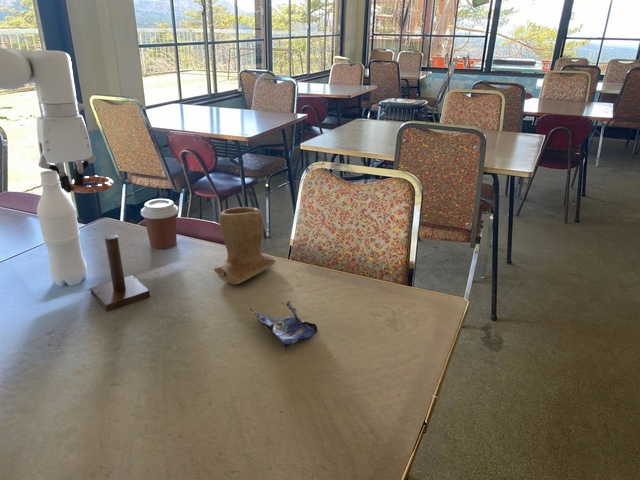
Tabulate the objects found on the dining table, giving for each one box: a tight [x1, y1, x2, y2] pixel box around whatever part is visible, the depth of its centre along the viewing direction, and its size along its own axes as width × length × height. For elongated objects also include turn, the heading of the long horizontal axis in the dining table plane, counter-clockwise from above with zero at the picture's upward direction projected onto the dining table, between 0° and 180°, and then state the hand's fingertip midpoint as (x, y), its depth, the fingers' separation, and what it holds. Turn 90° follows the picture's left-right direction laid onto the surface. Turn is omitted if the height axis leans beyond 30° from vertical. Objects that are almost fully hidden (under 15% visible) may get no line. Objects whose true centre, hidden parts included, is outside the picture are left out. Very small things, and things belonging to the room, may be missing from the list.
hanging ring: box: [69, 175, 115, 194], centre depth 116 cm, size 10×10×2 cm
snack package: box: [250, 300, 319, 351], centre depth 90 cm, size 12×6×12 cm
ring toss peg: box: [89, 234, 151, 312], centre depth 99 cm, size 9×9×14 cm
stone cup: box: [213, 206, 276, 285], centre depth 110 cm, size 15×12×15 cm
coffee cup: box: [140, 198, 180, 251], centre depth 122 cm, size 9×9×12 cm
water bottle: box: [36, 170, 88, 287], centre depth 101 cm, size 7×7×25 cm
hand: (73, 189), depth 113 cm, fingers closed on hanging ring, 2 cm apart
